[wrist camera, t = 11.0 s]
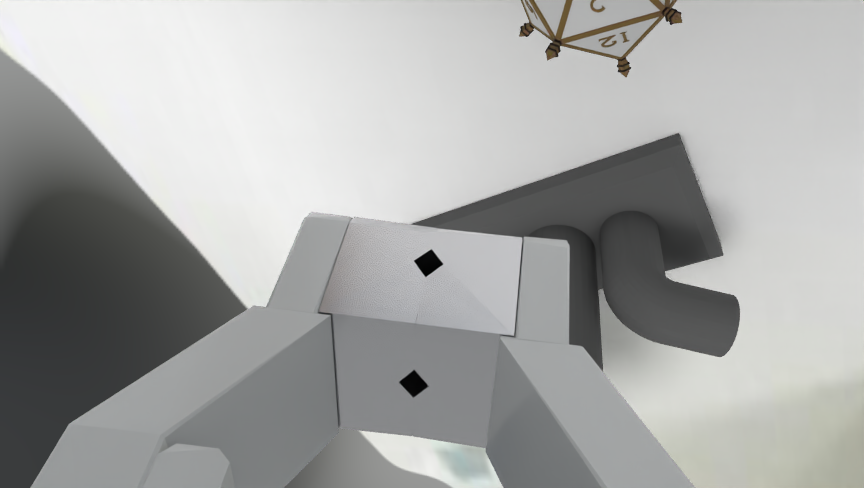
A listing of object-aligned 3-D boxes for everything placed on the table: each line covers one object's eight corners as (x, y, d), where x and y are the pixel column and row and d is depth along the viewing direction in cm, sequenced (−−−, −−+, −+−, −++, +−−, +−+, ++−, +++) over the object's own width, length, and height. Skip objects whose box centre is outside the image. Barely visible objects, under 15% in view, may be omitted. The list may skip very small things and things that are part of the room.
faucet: (499, 384, 58) (480, 676, 43) (393, 230, 49) (322, 526, 34) (757, 323, 51) (843, 645, 36) (686, 130, 42) (758, 447, 27)
